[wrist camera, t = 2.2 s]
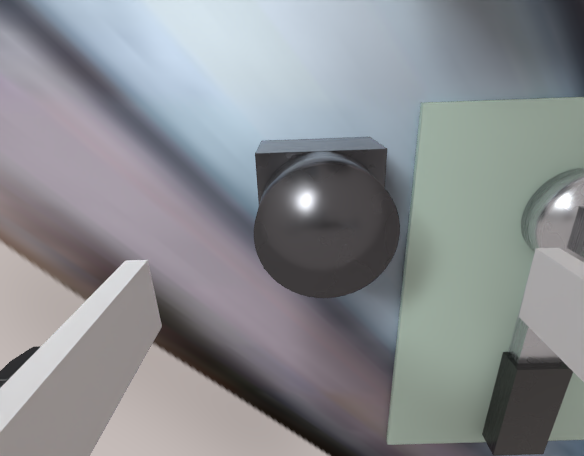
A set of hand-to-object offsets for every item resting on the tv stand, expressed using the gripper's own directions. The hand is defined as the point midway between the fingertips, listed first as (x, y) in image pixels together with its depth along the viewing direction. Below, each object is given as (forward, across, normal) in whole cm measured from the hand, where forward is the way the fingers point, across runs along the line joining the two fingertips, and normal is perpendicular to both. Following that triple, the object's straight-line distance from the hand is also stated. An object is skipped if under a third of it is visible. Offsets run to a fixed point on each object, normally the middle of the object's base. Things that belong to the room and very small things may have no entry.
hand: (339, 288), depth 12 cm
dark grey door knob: (+11, 0, 0) cm, 11 cm away
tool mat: (+11, +16, -8) cm, 21 cm away
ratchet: (+10, +16, -10) cm, 21 cm away
